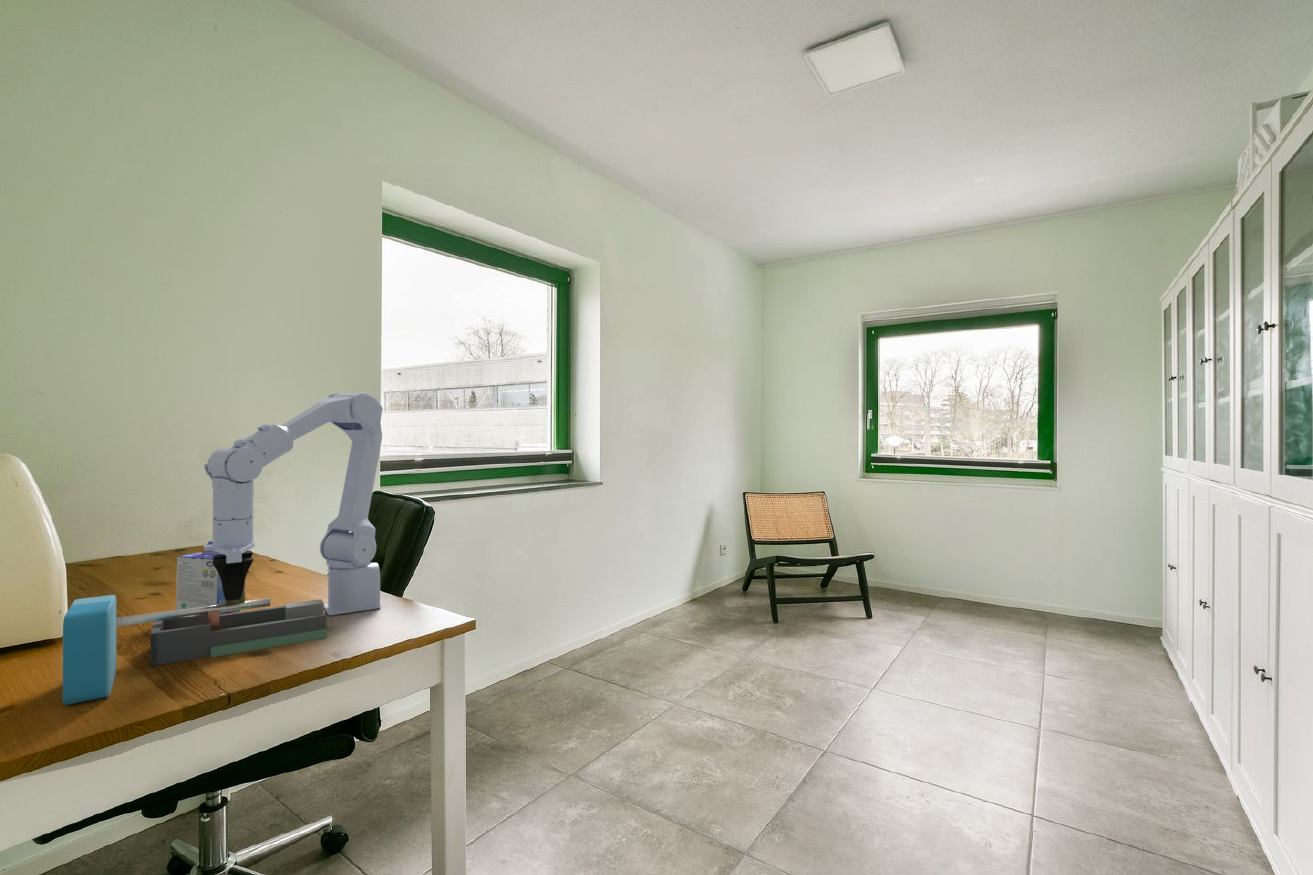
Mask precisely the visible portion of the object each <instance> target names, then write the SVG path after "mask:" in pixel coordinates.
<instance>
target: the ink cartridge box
mask: <svg viewBox="0 0 1313 875" xmlns="http://www.w3.org/2000/svg"><path fill="white" fill-rule="evenodd" d="M212 544H213V540H212V541H211V540H209V541H208V542H207V544H206V545H212ZM220 554H221V553H218V552H214V551H204V550H203V551H202V552H194V553H190V554H184V555H180V556H177V558H176V559H177V560H176V580H175V581H176V586H175V587H176V588H175V610H180V609H188V608H195V607H203V606H211V605H219V604H225V597H224V593H223V588H222V583H221V579H220V576H219V574H218V572H217V570H216V568H215V567H214V565H213V556H214V555H220ZM236 612H241V610H237V611H230V612H222V613H219V615H221V614H229V613H236Z"/></svg>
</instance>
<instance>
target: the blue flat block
mask: <svg viewBox="0 0 1313 875" xmlns="http://www.w3.org/2000/svg"><path fill="white" fill-rule="evenodd" d="M116 618H117V596H116V595H115V594H109V595H102V596H93V597H86V598H78V599H74V600H73V602H72V603H71V605H70V607H69V608H68V610H67V612H66V613H65V614H64V617H63V623H62V703H63V705H65V706H69V705H73V704H79V703H85V702H88V701H94V700H98V699H103V698H104V699H105V698H109V697H110V695H111V692H112V689H113V684H114V680H115V677H116V674H117V673H116V671H117V627H116Z"/></svg>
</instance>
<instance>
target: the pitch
mask: <svg viewBox="0 0 1313 875" xmlns="http://www.w3.org/2000/svg"><path fill="white" fill-rule="evenodd" d="M324 604H325V603H324V601H323V600H322V599H321V598H320V599H319V598H318V599H313V600H311V599H310V600H304V601H298V602H291V603H284V605H282V606H273V607H267V608H265V607H264V608H260V609H259V608H257V609H253V610H252V609H251V610H243V611H240V612H236V613H229V614H221V615H219V630H214V631H211V624H208V615H200V616H193V617H185V618H178V619H171V620H163V621H156V622H153V625H152V629H151V632H150V667H155V666H161V665H167V664H173V663H177V662H184V661H189V660H191V661H192V660H197V659H203V658H208V657H210V658H216V657H222V656H227V655H228V656H229V655H235V654H240V653H245V652H250V651H251V652H252V651H257V650H263V649H270V648H274V647H281V646H282V647H283V646H286V645H293V644H299V643H305V642H304V641H306V642H310V641H311V642H312V641H316V640H323V639H327V638H328V628H327V623H328V622H327V615H328V614H326V613H325V612H324V611H325V610H324V609H325V608H324Z"/></svg>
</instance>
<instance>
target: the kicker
mask: <svg viewBox="0 0 1313 875" xmlns="http://www.w3.org/2000/svg"><path fill="white" fill-rule="evenodd" d="M270 606H271V598H270V597H268V598H267V597H266V598H260V599H259V598H258V599H251V600H246V582H245V583H244V588H243V593H242V596H241V599H239V600H231V601H226V600H225V604H219V605H211V606H203V607H195V608H188V609H180V610H176V609H174V610H172V609H171V610H167V611H158V612H150V613H143V614H133V615H126V616H119V617H116V628H117V627H125V626H133V625H140V624H147V623H154V622H156V621H163V620H171V619H178V618H185V617H193V616H200V615H208V624H211V631H214V630H219V613H222V612H230V611H237V610H240V611H242V610H243V611H246V610H250V609H251V610H252V609H259V608H265V607H267V608H268V607H270Z"/></svg>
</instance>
